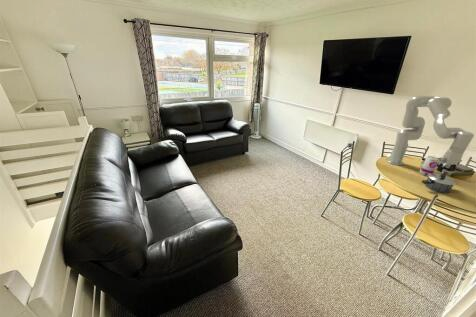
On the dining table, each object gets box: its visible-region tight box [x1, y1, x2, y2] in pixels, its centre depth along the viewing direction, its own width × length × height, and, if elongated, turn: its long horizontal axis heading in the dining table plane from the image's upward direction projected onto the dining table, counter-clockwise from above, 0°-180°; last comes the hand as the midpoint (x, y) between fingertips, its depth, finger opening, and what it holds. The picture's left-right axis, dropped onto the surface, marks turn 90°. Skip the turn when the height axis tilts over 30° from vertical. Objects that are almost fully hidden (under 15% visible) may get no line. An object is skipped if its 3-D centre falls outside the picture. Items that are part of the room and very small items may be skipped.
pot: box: [421, 177, 454, 194], centre depth 152 cm, size 14×23×7 cm, turn 97°
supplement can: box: [419, 155, 440, 177], centre depth 168 cm, size 8×8×15 cm
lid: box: [427, 170, 457, 186], centre depth 149 cm, size 15×15×6 cm
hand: (444, 170), depth 148 cm, fingers open, 9 cm apart
